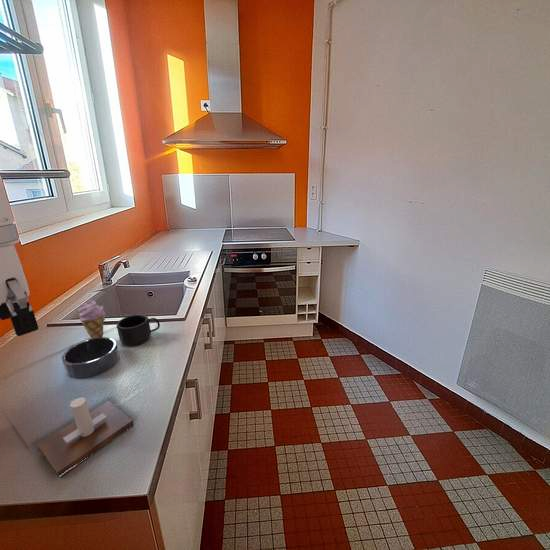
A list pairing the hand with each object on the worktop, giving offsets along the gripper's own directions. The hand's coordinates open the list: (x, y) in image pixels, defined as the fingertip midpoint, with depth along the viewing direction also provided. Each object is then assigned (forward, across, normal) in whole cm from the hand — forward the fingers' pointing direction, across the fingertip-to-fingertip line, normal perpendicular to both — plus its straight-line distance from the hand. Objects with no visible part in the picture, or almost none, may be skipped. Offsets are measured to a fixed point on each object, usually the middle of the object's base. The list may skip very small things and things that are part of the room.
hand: (19, 324), depth 57 cm
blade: (+22, +11, +3) cm, 25 cm away
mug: (+24, -14, +30) cm, 41 cm away
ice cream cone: (+24, -22, +21) cm, 39 cm away
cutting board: (+24, +11, +3) cm, 26 cm away
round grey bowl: (+24, -13, +15) cm, 31 cm away
